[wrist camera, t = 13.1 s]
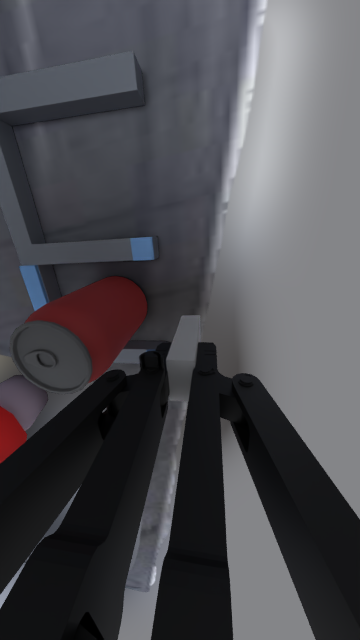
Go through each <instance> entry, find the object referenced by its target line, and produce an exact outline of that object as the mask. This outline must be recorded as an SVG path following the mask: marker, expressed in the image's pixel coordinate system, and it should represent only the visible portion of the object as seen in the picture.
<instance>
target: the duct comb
mask: <svg viewBox="0 0 360 640" xmlns="http://www.w3.org/2000/svg"><path fill="white" fill-rule="evenodd" d="M143 105H145V101H144V90H143V79H142V71H141V68H140V66H139V64H138V61H137V59H136V56H135V54H134V52H133V51H130V52H125V53H120V54H114V55H109V56H104V57H99V58H94V59H89V60H84V61H79V62H74V63H69V64H64V65H59V66H54V67H48V68H43V69H38V70H33V71H28V72H23V73H18V74H13V75H8V76H3V77H0V206H1V209H2V212H3V215H4V218H5V221H6V224H7V226H8V229H9V232H10V235H11V238H12V241H13V244H14V246H15V249H16V252H17V255H18V258H19V261H20V264H21V266H19V268H20V271H21V274H22V277H23V279H24V282H25V285H26V288H27V291H28V294H29V296H30V299H31V302H32V305H33V308H34V310H35V311H36V310H37V309H39V308H41V307H42V306H44V305H45V304H47V303H49V302H52V301H54V300H56V299H58V298H61V293H60V290H59V286H58V283H57V279H56V276H55V273H54V269H53V266H52V264H66V263H88V262H109V261H130V260H133V261H139V260H154V259H156V258H158V257H159V249H158V238H157V236H156V237H140V238H125V239H109V240H93V241H77V242H62V243H46V242H45V238H44V235H43V231H42V228H41V225H40V221H39V218H38V214H37V211H36V207H35V204H34V201H33V197H32V194H31V190H30V187H29V183H28V180H27V177H26V173H25V170H24V166H23V163H22V159H21V156H20V153H19V149H18V146H17V142H16V139H15V135H14V132H13V129H12V126H16V125H22V124H28V123H35V122H41V121H47V120H54V119H60V118H66V117H73V116H79V115H86V114H92V113H98V112H105V111H111V110H117V109H124V108H130V107H137V106H143ZM162 342H167V341H128V343H127V344H126V345H125V347H124V348H123V349H122V351H121V352H120V353H119V355H118V356H117V358H116V359H115V360H114V362H113V363H135V364H140V361H139V356H140V355H141V354H142V353H144V352H147V351H153V350H154V351H155V350H156V348H157V346H158V345H159V344H161V343H162Z"/></svg>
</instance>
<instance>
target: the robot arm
mask: <svg viewBox="0 0 360 640" xmlns="http://www.w3.org/2000/svg"><path fill="white" fill-rule="evenodd" d="M139 361H140V367H141V370H140V372H139V373H138V374H135V375H129V376H126V374H125V372H124V371H122V370H111V371H108V372H106V373H105V374H103V375H102V376H101V377H100V378H98V379H97V380H96V381H95V382H94V383H93V384H92V385H91V386H89V387H88V388H87V389H86V390H85V391H83V392H82V393H81V394H80V395H79V396H78V397H77V398H75V399H74V400H73V401H72V402H71V403H70V404H68V405H67V406H66V407H65V408H64V409H63V410H62V411H60V412H59V413H58V414H57V415H56V416H55V417H54V418H53V419H51V420H50V421H49V422H48V423H47V424H45V426H43V427H42V428H41V429H40V430H39V431H37V432H36V433H35V434H34V435H33V436H32V437H31V438H29V439H28V440H27V441H26V442H25V443H24V444H22V445H21V446H20V447H19V448H18V449H17V450H15V451H14V452H13V453H12V454H11V455H10V456H9V457H7V458H6V459H5V460H4V461H3V462H2V463H0V594H1V593H2V592H3V590H4V589H5V587H6V586H7V584H8V583H9V582H10V581H11V579H12V578H13V577H14V575H15V574H16V573H17V571H18V570H19V569H20V567H21V566H22V564H23V563H24V562H25V560H26V559H27V558H28V556H29V555H30V554H31V552H32V551H33V549H34V548H35V546H36V545H37V544H38V543H39V541H40V540H41V539H42V537H43V536H44V535H45V533H46V532H47V531H48V529H49V528H50V526H51V525H52V524H53V522H54V520H55V519H56V518H57V517H58V515H59V514H60V513H61V512H62V510H63V509H64V507H65V506H66V505H67V503H68V502H69V501H70V499H71V498H72V496H73V495H74V494H75V493H76V491H77V490H78V488H79V487H80V488H79V490H78V492H77V494H76V496H75V498H74V500H73V502H72V504H71V506H70V508H69V510H68V512H67V514H66V516H65V518H64V519H63V521H62V523H61V525H60V527H59V528H58V529H57V531H56V532H55V533H54V534H52V535H49V536H47V537H45V538H44V539H43V540H42V541H41V542H40V543H39V544H38V545H37V546H36V548H35V550H34V551H33V553H32V554H31V556H30V557H29V559H28V561H27V562H26V564H25V566H24V568H23V569H22V571H21V573H20V575H19V577H18V579H17V580H16V582H15V584H14V586H13V587H12V589H11V591H10V593H9V595H8V596H7V598H6V600H5V602H4V603H3V605H2V607H1V609H0V640H117V639H118V634H119V629H120V625H121V619H122V612H123V600H124V590H125V584H126V579H127V575H128V571H129V567H130V563H131V559H132V555H133V550H134V546H135V542H136V538H137V534H138V530H139V526H140V522H141V517H142V513H143V509H144V505H145V501H146V497H147V493H148V489H149V484H150V480H151V476H152V472H153V468H154V464H155V460H156V456H157V451H158V447H159V443H160V439H161V435H162V431H163V427H164V423H165V418H166V414H167V410H168V396H169V397H170V401H188V408H187V416H186V423H185V431H184V438H183V445H182V452H181V460H180V467H179V474H178V482H177V489H176V497H175V504H174V511H173V518H172V526H171V533H170V541H169V546H168V551H167V553H166V556H165V558H164V561H163V566H162V571H161V577H160V583H159V590H158V596H157V602H156V609H155V616H154V623H153V629H152V636H151V640H233V628H232V610H231V592H230V578H229V568H228V561H227V544H226V524H225V504H224V484H223V465H222V444H221V424H220V417H221V418H224V419H227V420H229V421H230V422H231V426H232V428H233V431H234V433H235V436H236V439H237V441H238V443H239V446H240V449H241V451H242V454H243V456H244V459H245V461H246V464H247V466H248V469H249V472H250V474H251V476H252V479H253V482H254V484H255V487H256V489H257V491H258V494H259V497H260V499H261V502H262V505H263V507H264V509H265V512H266V515H267V517H268V520H269V522H270V525H271V527H272V530H273V532H274V535H275V538H276V540H277V543H278V545H279V547H280V550H281V553H282V555H283V558H284V560H285V563H286V565H287V568H288V570H289V573H290V576H291V578H292V580H293V583H294V585H295V588H296V591H297V593H298V596H299V598H300V601H301V603H302V606H303V608H304V611H305V614H306V616H307V619H308V621H309V624H310V626H311V629H312V631H313V634H314V636H315V639H316V640H360V519H359V518H358V516H357V515H356V514H355V512H354V511H353V509H352V508H351V507H350V506H349V504H348V503H347V501H346V500H345V499H344V497H343V496H342V494H341V493H340V491H339V490H338V489H337V487H336V486H335V484H334V483H333V482H332V480H331V479H330V477H329V476H328V475H327V474H326V472H325V471H324V469H323V468H322V466H321V465H320V464H319V462H318V461H317V460H316V458H315V457H314V455H313V454H312V452H311V451H310V450H309V448H308V447H307V446H306V444H305V443H304V442H303V440H302V439H301V437H300V436H299V435H298V433H297V432H296V430H295V429H294V427H293V426H292V425H291V423H290V422H289V421H288V419H287V418H286V416H285V415H284V414H283V412H282V411H281V410H280V408H279V407H278V405H277V404H276V402H275V401H274V400H273V398H272V397H271V396H270V394H269V393H268V391H267V390H266V389H265V387H264V386H263V384H262V383H261V382H260V380H259V379H258V378H257V377H255V376H253V375H250V374H246V373H245V374H244V373H241V374H237V375H235V376H234V377H233V379H231V378H228V377H225V376H223V375H221V374H220V373H219V372H218V370H217V355H216V346H215V345H214V343H206V342H205V343H204V342H201V328H200V315H182V316H181V319H180V322H179V325H178V327H177V330H176V333H175V336H174V339H173V341H172V343H170V342H162V343H161V344H159V345H158V346H157V348H156V350H155V351H154V350H153V351H147V352H144V353H142V354H141V355H140V356H139ZM105 408H107V410H106V411H105V412H103V413H102V411H103V410H104V409H105Z"/></svg>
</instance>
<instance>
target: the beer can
mask: <svg viewBox="0 0 360 640" xmlns="http://www.w3.org/2000/svg"><path fill="white" fill-rule="evenodd" d="M146 314H147V302H146V298H145V295H144V294H143V292H142V290H141V289H140V287H138V286H137V285H136V284H135V283H134V282H133V281H131V280H129V279H127V278H125V277H119V276H111V277H106V278H104V279H102V280H99V281H97V282H95V283H92V284H90V285H88V286H86V287H83V288H81V289H79V290H77V291H74V292H72V293H70V294H67V295H65V296H63V297H61V298H58V299H56V300H54V301H52V302H49V303H47V304H45V305H44V306H42V307H41V308H39V309H37V310H36V311H35V312H34V313H32V314H31V315H30V316H29V318H28V319H27V320H26V322H25V323H24V324H22V325H21V326H19V327H18V328H16V329H15V331H14V332H13V334H12V336H11V339H10V352H11V356H12V359H13V362H14V363H15V365H16V367H17V368H18V370H19V371H20V372H21V373H22V375H23V376H24V377H25V378H26V379H27V380H29V381H30V382H31V383H33V384H34V385H36V386H37V387H39V388H41V389H44V390H46V391H48V392H52V393H57V394H71V393H75V392H77V391H79V390H82V389H83V388H84V387H85V386H86V384H88V383H90V382H92V381H94V380H96V379H97V378H98V377H100V376H101V375H102V374H103V373H104V372H105V371H106V370H107V369H108V368H109V367H110V366H111V364H112V363H113V362H114V360H115V359H116V358H117V356H118V355H119V353H120V352H121V351H122V349H123V348H124V347H125V345H126V344H127V343H128V341H129V340H130V339H131V337H132V336H133V335H134V333H135V332H136V330H137V329H138V328H139V326H140V325H141V324H142V322H143V321H144V319H145V317H146Z"/></svg>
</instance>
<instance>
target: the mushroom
mask: <svg viewBox="0 0 360 640" xmlns="http://www.w3.org/2000/svg"><path fill="white" fill-rule="evenodd" d="M47 401H48V395H47V392H46V390H44V389H41V388H39V387H37V386H36V385H34V384H33V383H31V382H30V381H29V380H27V379H26V378H25V377H24V376H23V375H15V376H13V377H11V378H9V379H7V380H5V381H4V382H2V383H0V463H2V462H3V461H4V460H5V459H6V458H7V457H9V456H10V455H11V454H12V453H13V452H14V451H15V450H17V449H18V448H19V447H20V446H21V445H22V444H24V443H25V442H26V438H27V434H26V432H25V430H27V429H28V428H29V427H31V425H32V424H33V422H34V421H35V419H36V418H37V416H38V415H39V413H40V412H41V411H42V409H43V408H44V406H45V405H46V403H47Z"/></svg>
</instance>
